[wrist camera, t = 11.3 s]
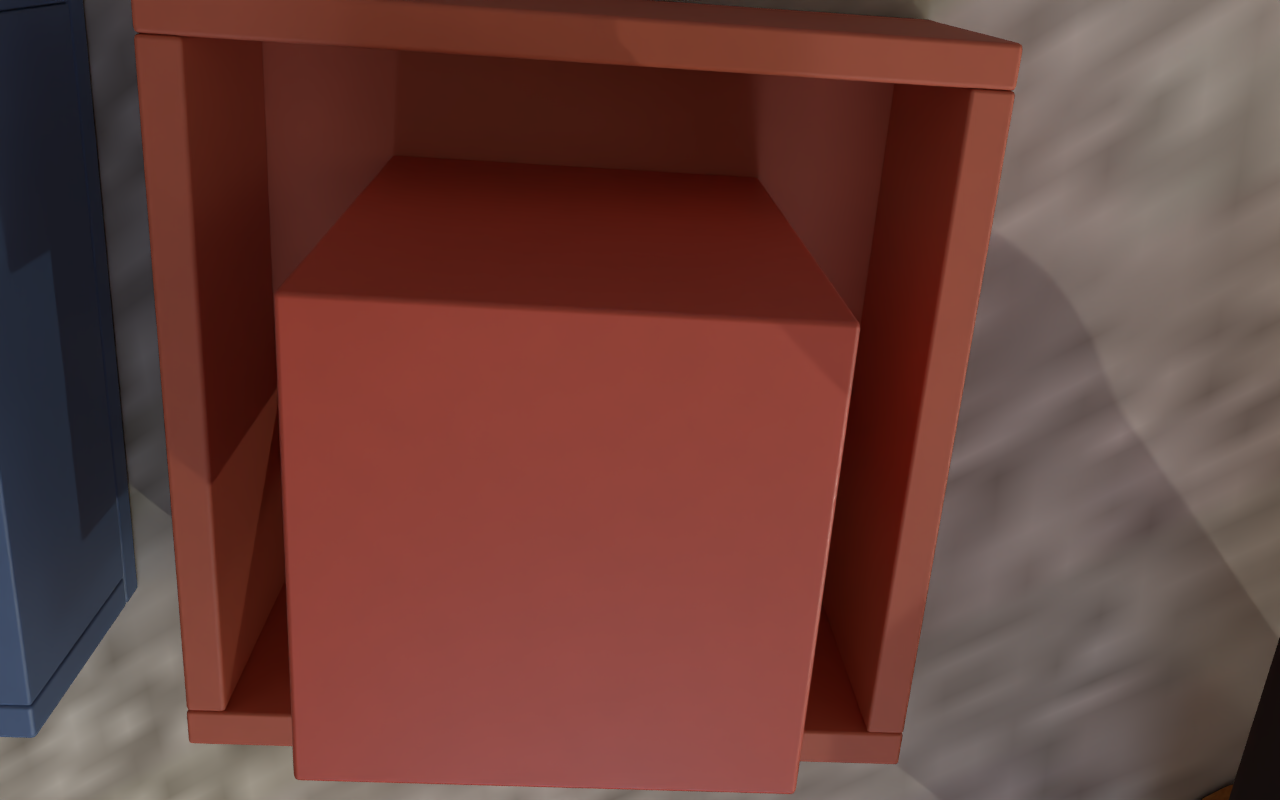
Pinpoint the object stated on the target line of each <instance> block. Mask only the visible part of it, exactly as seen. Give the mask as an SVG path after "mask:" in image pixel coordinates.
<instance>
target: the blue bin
mask: <svg viewBox="0 0 1280 800" xmlns="http://www.w3.org/2000/svg"><path fill="white" fill-rule="evenodd" d="M136 589H137V579H136V568H135V558H134V547H133V536H132V525H131V514H130V504H129V493H128V482H127V471H126V461H125V450H124V439H123V428H122V417H121V407H120V396H119V385H118V374H117V363H116V353H115V342H114V331H113V320H112V310H111V299H110V288H109V277H108V266H107V256H106V245H105V234H104V223H103V213H102V202H101V191H100V180H99V169H98V159H97V148H96V137H95V126H94V116H93V105H92V94H91V83H90V72H89V62H88V51H87V40H86V29H85V19H84V8H83V0H0V737H25V738H32V737H35V736H36V735H37V734H38V732H39V731H40V729H41V728H42V726H43V725H44V723H45V722H46V720H47V719H48V717H49V716H50V715H51V713H52V712H53V710H54V709H55V707H56V706H57V704H58V703H59V701H60V700H61V698H62V697H63V696H64V694H65V693H66V691H67V690H68V688H69V687H70V685H71V684H72V682H73V681H74V679H75V678H76V677H77V675H78V674H79V672H80V671H81V669H82V668H83V666H84V665H85V663H86V662H87V661H88V659H89V658H90V656H91V655H92V653H93V652H94V650H95V649H96V647H97V646H98V644H99V643H100V642H101V640H102V639H103V637H104V636H105V634H106V633H107V631H108V630H109V628H110V627H111V625H112V624H113V623H114V621H115V620H116V618H117V617H118V615H119V614H120V612H121V611H122V609H123V608H124V607H125V604H126V602H128V601H129V599H130V598H131V596H132V595H133V593H134V592H135V590H136Z"/></svg>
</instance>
